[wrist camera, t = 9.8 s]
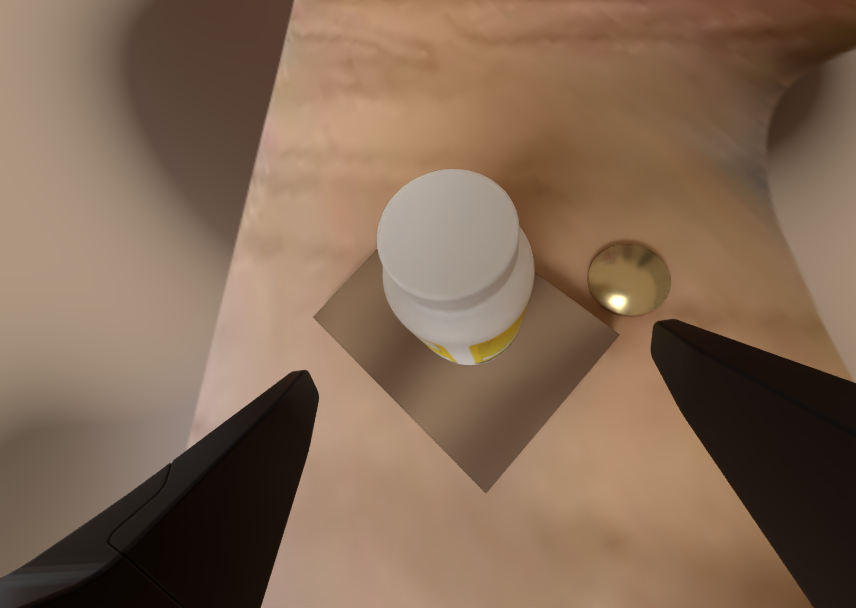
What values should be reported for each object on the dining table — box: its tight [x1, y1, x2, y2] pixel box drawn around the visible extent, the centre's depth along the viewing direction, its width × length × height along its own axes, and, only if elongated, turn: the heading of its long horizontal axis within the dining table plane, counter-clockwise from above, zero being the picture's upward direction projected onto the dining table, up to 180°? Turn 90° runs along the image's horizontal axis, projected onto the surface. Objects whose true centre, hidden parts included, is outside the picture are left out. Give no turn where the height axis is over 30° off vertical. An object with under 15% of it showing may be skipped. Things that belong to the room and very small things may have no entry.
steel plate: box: [313, 249, 620, 493], centre depth 19 cm, size 13×10×1 cm
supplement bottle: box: [377, 169, 535, 365], centre depth 14 cm, size 5×5×10 cm
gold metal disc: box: [588, 244, 671, 316], centre depth 19 cm, size 4×4×1 cm
